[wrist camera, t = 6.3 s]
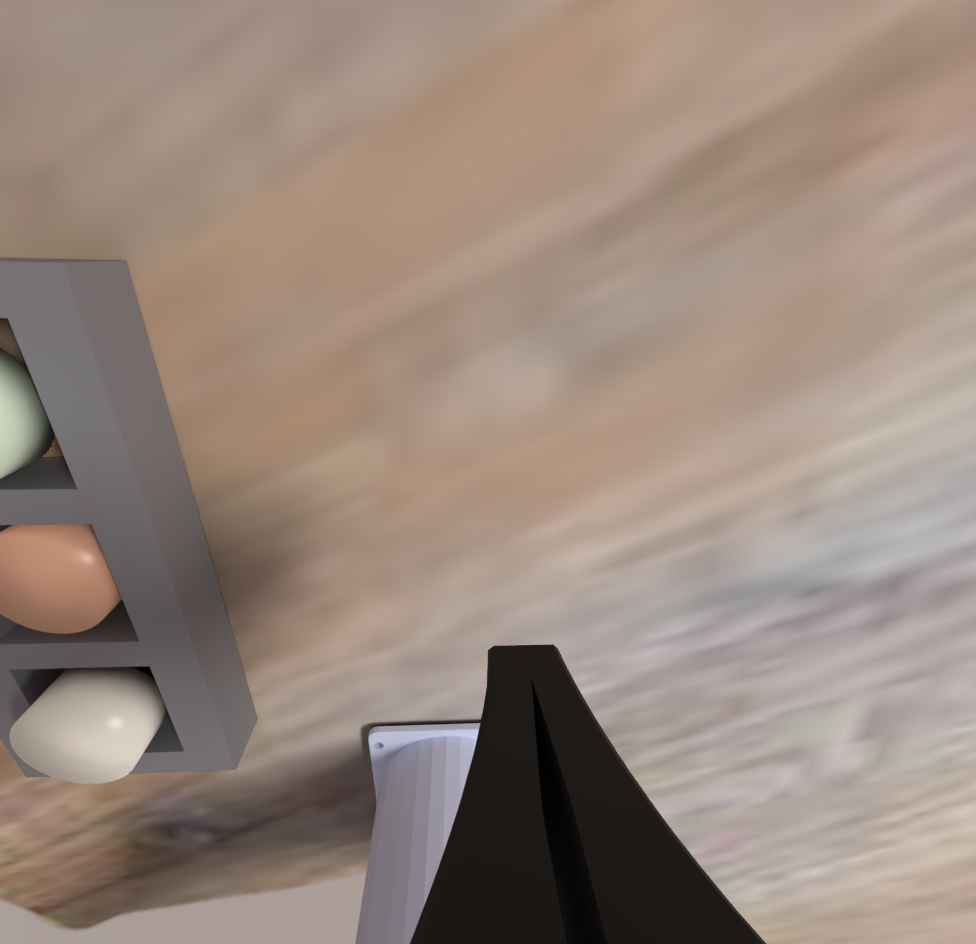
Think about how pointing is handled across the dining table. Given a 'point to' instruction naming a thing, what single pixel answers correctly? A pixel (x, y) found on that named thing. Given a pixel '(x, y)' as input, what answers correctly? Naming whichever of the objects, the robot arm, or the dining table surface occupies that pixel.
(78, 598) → the terracotta button
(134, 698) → the cream button
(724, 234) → the dining table surface
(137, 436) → the button board
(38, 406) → the sage button
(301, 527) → the dining table surface
